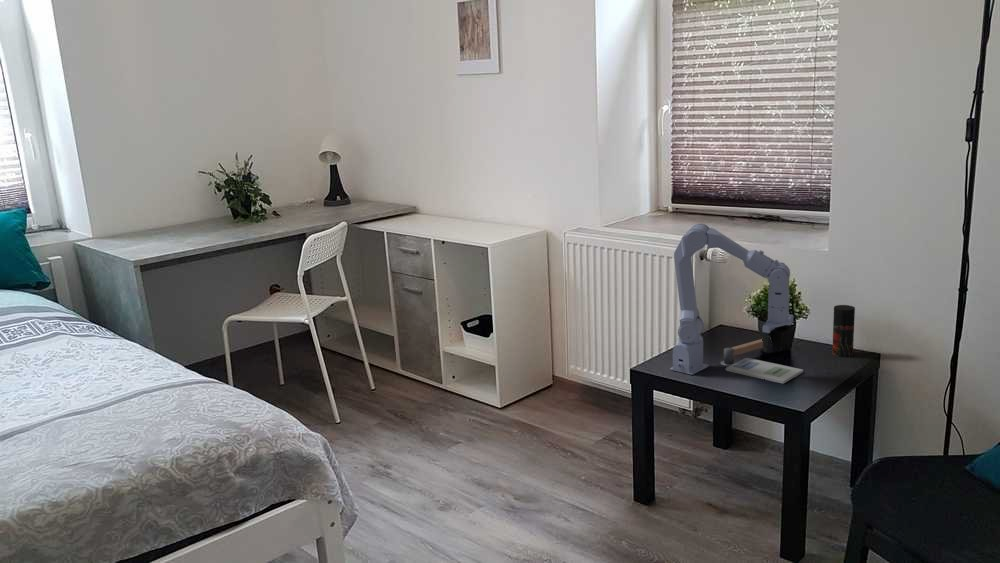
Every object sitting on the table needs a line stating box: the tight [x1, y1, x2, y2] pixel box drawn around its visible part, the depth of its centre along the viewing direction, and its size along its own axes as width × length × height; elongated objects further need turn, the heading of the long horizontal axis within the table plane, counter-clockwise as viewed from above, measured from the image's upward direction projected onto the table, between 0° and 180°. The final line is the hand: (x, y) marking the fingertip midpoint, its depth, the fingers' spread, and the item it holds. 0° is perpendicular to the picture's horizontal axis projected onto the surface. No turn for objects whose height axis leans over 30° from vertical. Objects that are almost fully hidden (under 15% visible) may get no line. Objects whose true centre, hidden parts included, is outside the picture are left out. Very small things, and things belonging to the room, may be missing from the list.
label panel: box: [720, 357, 804, 384], centre depth 245 cm, size 12×24×1 cm, turn 44°
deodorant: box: [831, 304, 856, 358], centre depth 253 cm, size 6×6×15 cm
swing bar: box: [723, 338, 764, 364], centre depth 256 cm, size 22×3×4 cm, turn 120°
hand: (777, 350), depth 239 cm, fingers closed
